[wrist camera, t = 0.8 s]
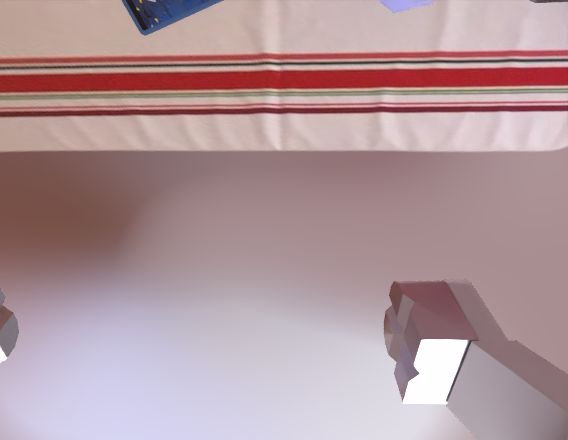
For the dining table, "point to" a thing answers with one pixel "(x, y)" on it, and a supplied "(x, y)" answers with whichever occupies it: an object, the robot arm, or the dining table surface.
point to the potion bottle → (404, 4)
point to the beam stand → (545, 0)
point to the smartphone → (162, 12)
